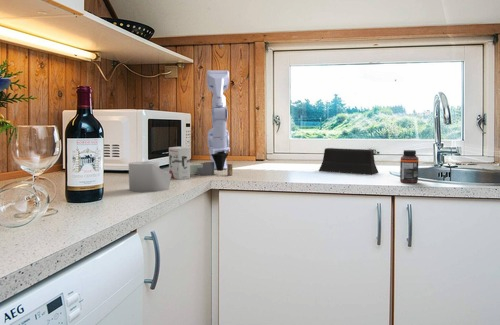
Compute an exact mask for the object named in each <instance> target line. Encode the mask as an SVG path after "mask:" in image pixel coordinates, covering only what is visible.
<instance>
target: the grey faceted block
mask: <svg viewBox="0 0 500 325" xmlns="http://www.w3.org/2000/svg"><path fill="white" fill-rule="evenodd" d="M202 163H203V167H199V168H197V173H196V175H197V176H213V175H215V169H214V162H211V161H204V162H202Z"/></svg>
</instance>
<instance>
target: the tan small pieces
mask: <svg viewBox="0 0 500 325" xmlns="http://www.w3.org/2000/svg"><path fill="white" fill-rule="evenodd" d="M203 163H204V162H200V164H203ZM226 166H227V169H226V170H227V174H226V176H228V177H230V176H233V164H232V163H226Z"/></svg>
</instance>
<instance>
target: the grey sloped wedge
mask: <svg viewBox="0 0 500 325" xmlns="http://www.w3.org/2000/svg"><path fill="white" fill-rule="evenodd" d="M171 175H172V174H170V173H169V172H167V171H166V170H164V169H163V168H160V162H159V161H133V162H129V163H128V185H129V186H128V187H129V192H132V193H149V192H151V193H152V192H163V191H169V190H170V185H171V179H172V178H171Z"/></svg>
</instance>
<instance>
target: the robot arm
mask: <svg viewBox="0 0 500 325" xmlns="http://www.w3.org/2000/svg"><path fill="white" fill-rule="evenodd" d="M229 83H230V72H229V70H209V69H208V70H206V87H207V90H208V91H211V93H212V98H211V113H210V114H211V116H210V117H211V118H210V119H211V128H210V129H209V130H208V131H207V148H208V155H209V156H210V157H209V158H210V162H214V170H216V171H220V172H221V171H223V170H227V158H228V156H229V153H230V152H231V147H230V134H229V131H228V127H227V122H228V118H229V117H228V116H229V114H228V113H229V112H228V107H227V99H226V96H225V95H224V92H225V91H227V90H228V88H229Z"/></svg>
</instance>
